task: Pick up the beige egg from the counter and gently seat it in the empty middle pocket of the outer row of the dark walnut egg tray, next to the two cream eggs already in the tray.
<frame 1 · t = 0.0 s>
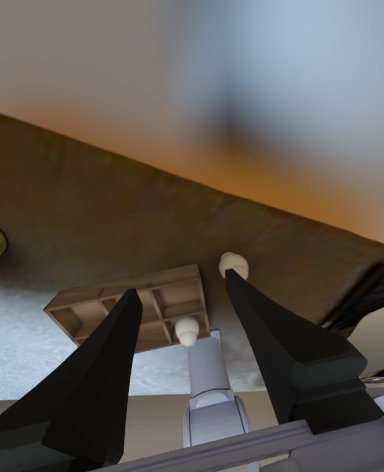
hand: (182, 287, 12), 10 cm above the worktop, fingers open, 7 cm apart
egg tray: (143, 307, 26), on the worktop
beige egg: (228, 258, 23), on the worktop
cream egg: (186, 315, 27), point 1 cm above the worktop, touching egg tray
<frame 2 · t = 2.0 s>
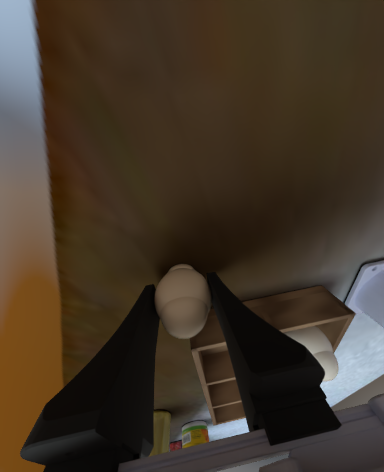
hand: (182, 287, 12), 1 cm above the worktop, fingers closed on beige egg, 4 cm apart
egg tray: (252, 352, 20), on the worktop
snack box: (190, 446, 40), on the worktop
supplement bottle: (194, 423, 31), on the worktop
vase: (154, 414, 26), on the worktop
beige egg: (181, 275, 13), on the worktop, touching gripper
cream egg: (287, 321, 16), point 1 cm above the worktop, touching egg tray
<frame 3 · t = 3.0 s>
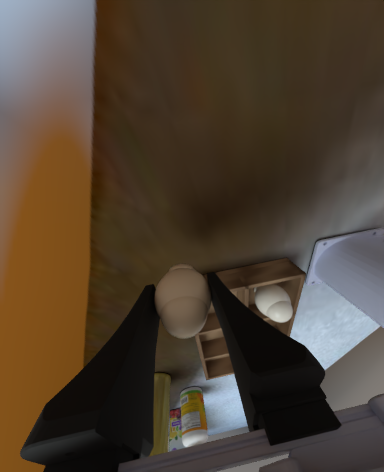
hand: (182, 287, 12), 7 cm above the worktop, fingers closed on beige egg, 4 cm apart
egg tray: (237, 317, 25), on the worktop
snack box: (188, 417, 44), on the worktop
supplement bottle: (191, 390, 36), on the worktop
vase: (156, 377, 31), on the worktop
beige egg: (181, 275, 13), point 5 cm above the worktop, touching gripper
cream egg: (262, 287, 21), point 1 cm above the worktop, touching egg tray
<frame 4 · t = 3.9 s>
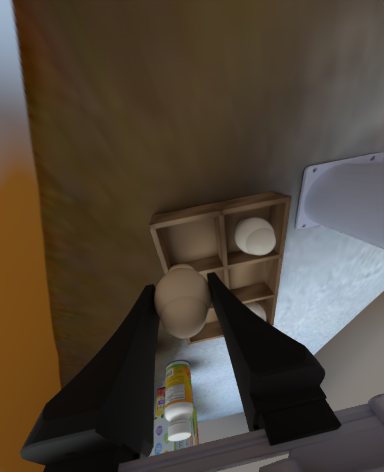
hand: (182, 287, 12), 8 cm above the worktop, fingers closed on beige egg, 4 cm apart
egg tray: (220, 272, 22), on the worktop
snack box: (178, 399, 42), on the worktop
supplement bottle: (178, 365, 33), on the worktop
beige egg: (181, 275, 13), point 7 cm above the worktop, touching gripper
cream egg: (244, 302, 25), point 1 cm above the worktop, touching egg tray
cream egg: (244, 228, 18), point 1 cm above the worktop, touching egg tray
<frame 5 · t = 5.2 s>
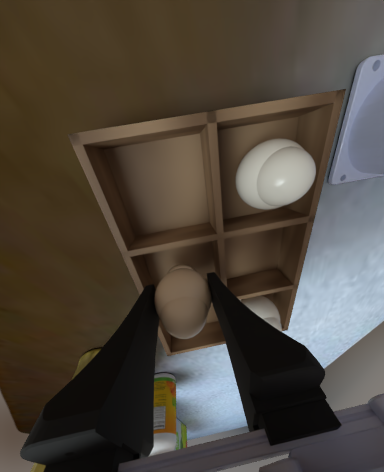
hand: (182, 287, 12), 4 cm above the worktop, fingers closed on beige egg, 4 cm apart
egg tray: (213, 252, 15), on the worktop
snack box: (164, 415, 35), on the worktop
supplement bottle: (161, 378, 26), on the worktop
vase: (104, 357, 22), on the worktop
beige egg: (181, 275, 13), point 3 cm above the worktop, touching gripper
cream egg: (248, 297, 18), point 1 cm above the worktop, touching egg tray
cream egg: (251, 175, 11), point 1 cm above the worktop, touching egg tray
when the fingers open (4 cm above the worktop, at t = 6.0 s): beige egg drops 2 cm, resting on egg tray.
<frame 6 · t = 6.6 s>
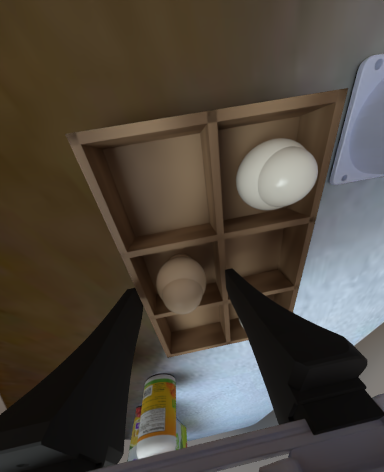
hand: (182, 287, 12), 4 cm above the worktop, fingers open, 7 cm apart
egg tray: (213, 253, 15), on the worktop
snack box: (164, 417, 35), on the worktop
supplement bottle: (160, 379, 26), on the worktop
beige egg: (180, 264, 14), point 1 cm above the worktop, touching egg tray
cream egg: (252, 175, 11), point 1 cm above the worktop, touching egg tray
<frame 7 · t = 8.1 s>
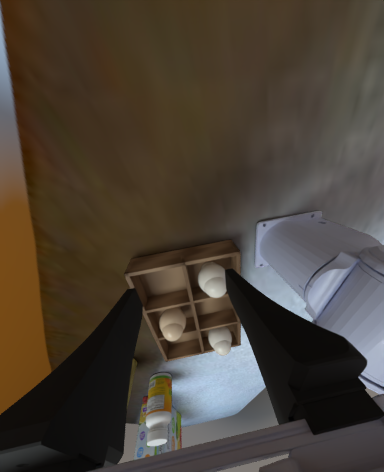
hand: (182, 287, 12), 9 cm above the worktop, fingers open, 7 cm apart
egg tray: (192, 300, 26), on the worktop
snack box: (163, 405, 45), on the worktop
supplement bottle: (161, 376, 37), on the worktop
beige egg: (173, 308, 25), point 1 cm above the worktop, touching egg tray
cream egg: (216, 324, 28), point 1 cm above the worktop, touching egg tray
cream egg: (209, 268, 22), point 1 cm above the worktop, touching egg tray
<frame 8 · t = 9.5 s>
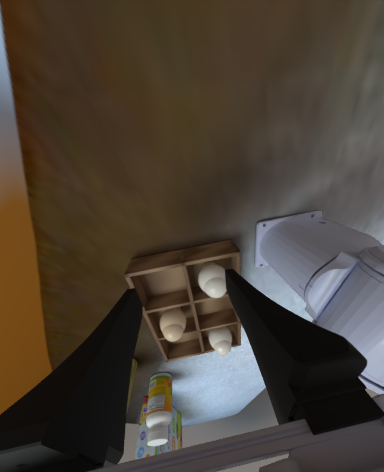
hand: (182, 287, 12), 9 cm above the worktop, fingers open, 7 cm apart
egg tray: (193, 300, 26), on the worktop
snack box: (164, 405, 45), on the worktop
supplement bottle: (161, 376, 37), on the worktop
beige egg: (173, 308, 25), point 1 cm above the worktop, touching egg tray
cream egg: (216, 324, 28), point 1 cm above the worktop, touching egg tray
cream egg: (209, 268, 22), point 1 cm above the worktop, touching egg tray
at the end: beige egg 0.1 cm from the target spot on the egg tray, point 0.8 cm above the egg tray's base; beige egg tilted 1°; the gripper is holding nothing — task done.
